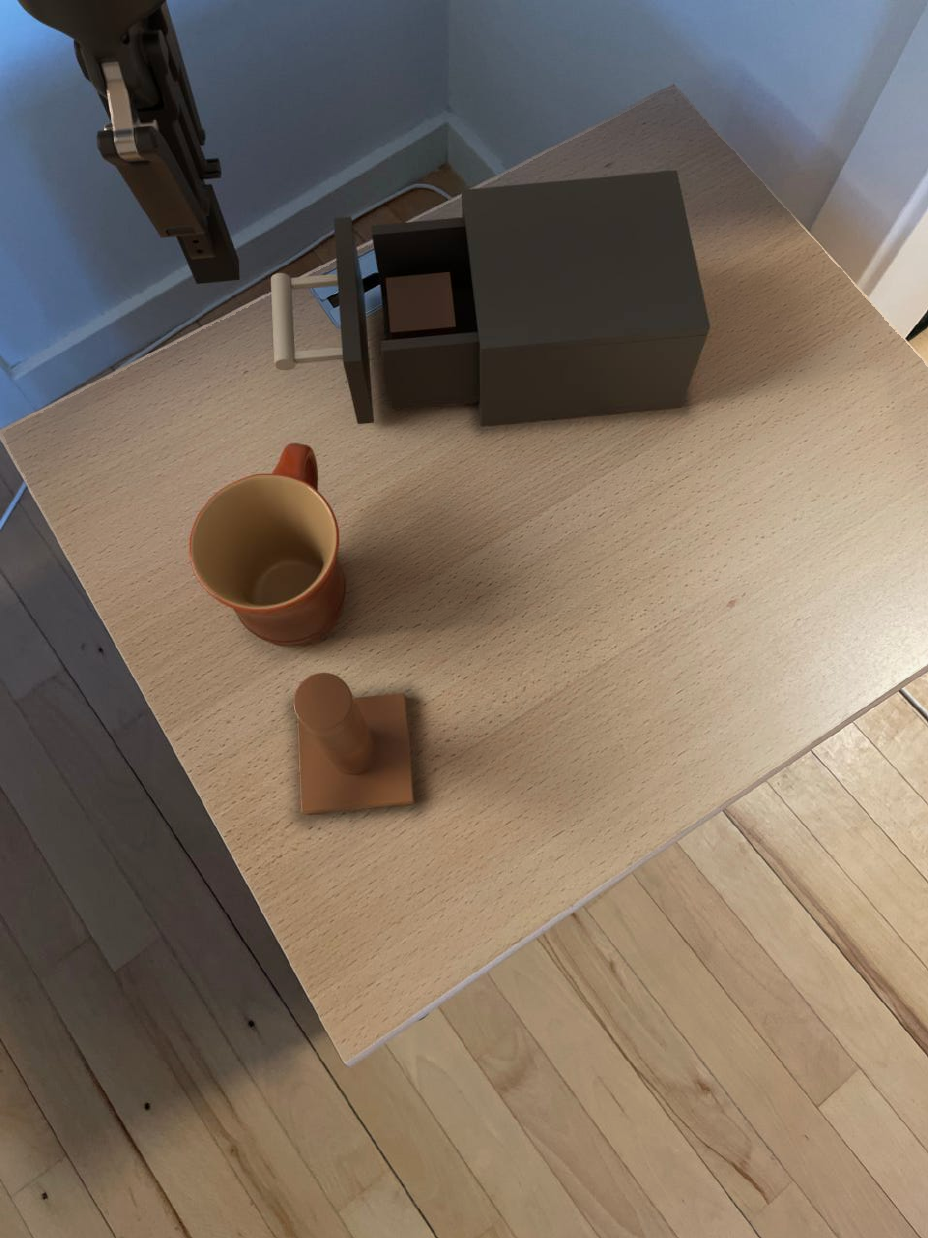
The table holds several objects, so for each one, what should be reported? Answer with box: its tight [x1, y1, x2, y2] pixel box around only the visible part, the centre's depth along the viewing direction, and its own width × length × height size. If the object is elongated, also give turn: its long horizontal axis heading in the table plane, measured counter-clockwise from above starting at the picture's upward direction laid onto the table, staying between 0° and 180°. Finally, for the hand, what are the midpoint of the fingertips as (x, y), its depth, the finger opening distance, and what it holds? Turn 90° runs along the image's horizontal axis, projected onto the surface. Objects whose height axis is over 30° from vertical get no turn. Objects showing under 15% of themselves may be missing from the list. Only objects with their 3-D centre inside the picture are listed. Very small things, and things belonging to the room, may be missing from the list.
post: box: [292, 672, 415, 815], centre depth 57 cm, size 7×7×14 cm
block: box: [385, 272, 457, 340], centre depth 69 cm, size 4×4×4 cm
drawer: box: [270, 216, 480, 425], centre depth 68 cm, size 18×11×8 cm, turn 96°
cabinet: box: [461, 169, 711, 427], centre depth 69 cm, size 15×13×10 cm
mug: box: [188, 442, 347, 648], centre depth 63 cm, size 12×9×10 cm
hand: (217, 271), depth 62 cm, fingers closed
